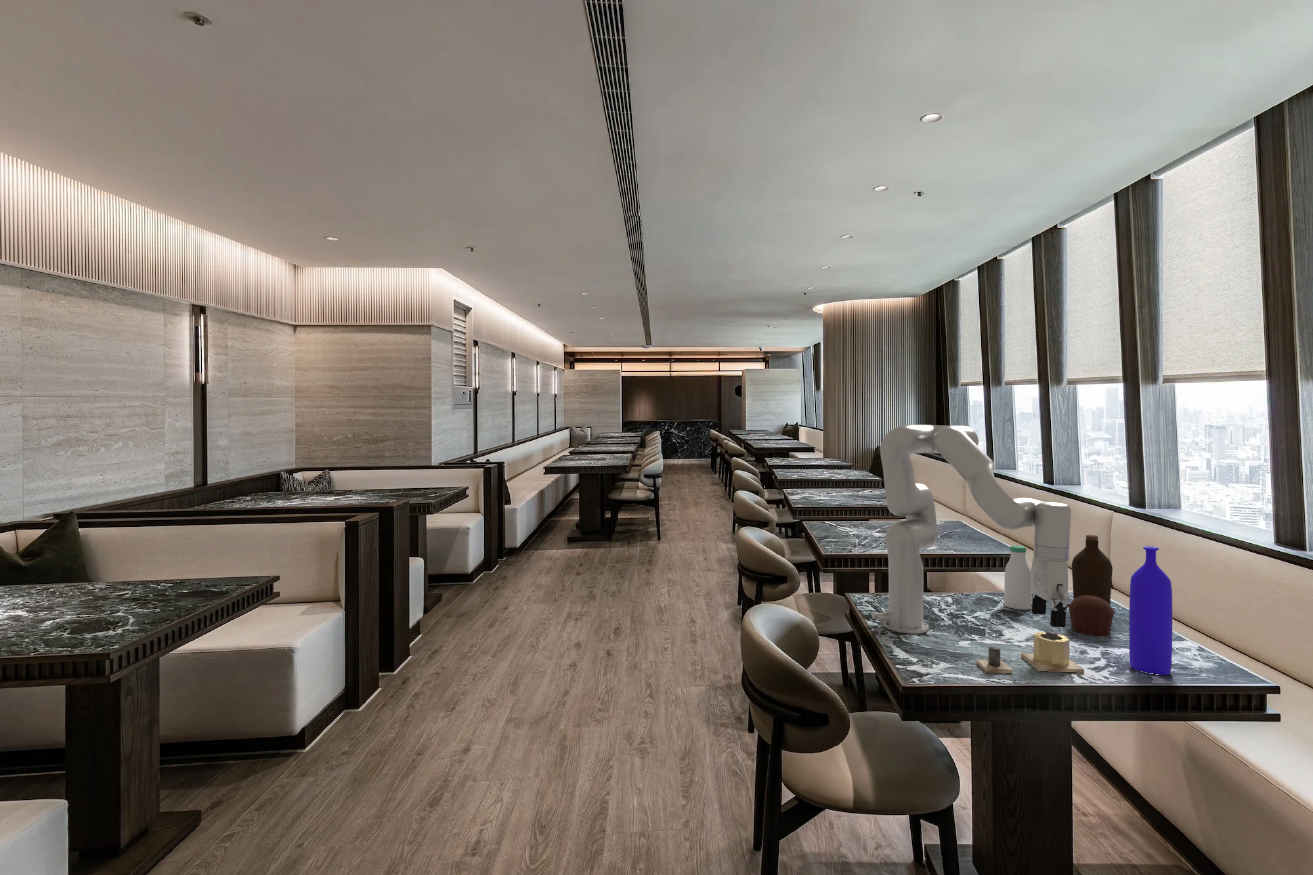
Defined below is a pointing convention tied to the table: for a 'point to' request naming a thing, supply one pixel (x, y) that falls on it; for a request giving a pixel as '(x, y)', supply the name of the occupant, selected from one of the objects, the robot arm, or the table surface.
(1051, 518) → the robot arm
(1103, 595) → the olive oil
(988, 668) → the short post
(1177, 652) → the table surface
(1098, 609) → the muffin
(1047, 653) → the brass ring
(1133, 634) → the bottle
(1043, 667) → the post stand
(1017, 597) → the milk bottle
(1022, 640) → the table surface
